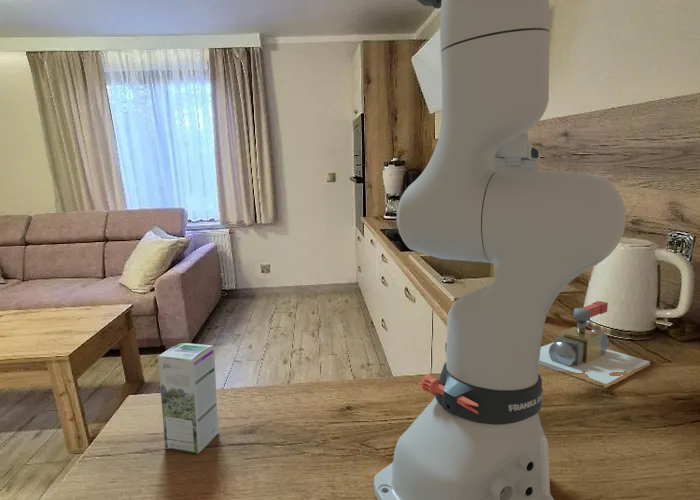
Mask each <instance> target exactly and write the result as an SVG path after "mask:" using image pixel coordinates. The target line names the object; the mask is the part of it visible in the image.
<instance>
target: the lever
mask: <svg viewBox="0 0 700 500" xmlns="http://www.w3.org/2000/svg"><path fill="white" fill-rule="evenodd" d="M608 305H609V304H608V302H607V301H601V300H600V301H599V300H598V301H597V300H596V301H595V302H592V303H591V304H588V305H586V306H583V307H575V308H573V316H572V317H573V318H572V319H574V320H576V321H577V320H580V321H586V322H588V321H591V318H592V317H595V316H598V315H603V314H605V313H607V312H608Z"/></svg>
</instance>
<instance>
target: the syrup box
mask: <svg viewBox="0 0 700 500" xmlns="http://www.w3.org/2000/svg"><path fill="white" fill-rule="evenodd" d="M215 357H216V356H215V347H214V345H213V344H212V345H211V344H200V343H187V342H181V343H178V344H176V345H174V346H171V347H170V348H168V349H167V350H165V351H164V352H162V353H161V354H159V355H157V361H158V362H157V363H158V372H159V385H160V386H159V387H160V388H159V389H160V399H161V410H162V423H163V435H164V436H163V439H164V448H165V450H166V449H167V450H170V451H171V450H172V451H178V452H183V453H184V452H186V453H190V454H197V455H198V454H199V453H201V452H202V451H203V450H204V449H205V448H206V447H207V446H208V445H209V444H210V443H211V442H212V441H213V440H214V438H216V437H217V435H218V434H219V433H220V432H219V431H220V429H219V419H218V418H219V416H218V400H217V382H216V381H217V380H216V379H217V378H216V359H215Z"/></svg>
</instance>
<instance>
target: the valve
mask: <svg viewBox="0 0 700 500" xmlns="http://www.w3.org/2000/svg"><path fill="white" fill-rule="evenodd" d="M586 322H587V321H580V320H576V326H573V327H570V328H567V329H563V330H561V331H559V336H556V337H554V339H553V340H554V341H553V343H554V344H552V345H551V346H550V348H549V356H550V358H551V360H552V361H553V362H556V363H559V364H562V365H565V366H570V365H576V366H578V365H581V364H582V362H583V363H589V362H591V361H593V360H596V359H598V358H600V356H602V355H604V354H605V351H606V350H607V349H608V350H609V346H610V339H609V337H608V335H607V334H606V333H605V332H603V331H602V330H599V329H591V330H589V329H586V324H587V323H586Z"/></svg>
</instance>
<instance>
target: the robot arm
mask: <svg viewBox="0 0 700 500" xmlns="http://www.w3.org/2000/svg"><path fill="white" fill-rule="evenodd" d="M416 1H417V2H418V3H420V4H421V5H422V6H427V7H433V8H434V9H436V10H437V9H438V10H440V27H439V28H440V30H439V31H440V34H439V35H440V36H439V37H440V38H439V39H440V58H441V59H440V61H441V63H440V64H441V89H442V90H441V92H442V93H441V101H442V102H441V120H440V121H441V123H440V129H439V134H438V139H437V141H436V145H435V148H434V150H433V153H432V155H431V157H430V159H429V162H428V163H427V165H426V167H425V168H424V169H423V170H422V172H421V174H420V175H419V176H418V177H417V178H416V179H415V180H413V182H412V183H411V184H410V185H408V186H407V187H406V188H405V190H404V191H403V194H402V195H401V196H400V199H399V201H398V204H397V205H398V206H397V208H396V226H397V227H396V228H397V230H398V234H399V236H400V237H401V239H402V242H403V243H404V244H405V246H406V247H407V248H408V249H409V250H412V251H414V252H417V253H420V254H424V255H426V256H431V257H433V258H436V259H441V260H450V261H451V260H453V261H463V262H476V263H477V262H478V263H489V264H492V265H495V267H496V270H495V271H496V272H495V277H494V281H493V283H492V284H490V285H487V286H484V287H481V288H478V289H475V290H473V291H471V292H469V293H465V294H464V295H462V296H460V297H459V298H458V299H456V301H455V302H453V304H452V305H451V307H450V309H449V310H448V313H447V316H446V317H447V318H446V320H447V321H446V358H445V360H446V361H445V362H444V364H443V365H442V370H441V373H440V375H439V378H438V379H435V378H434V376H432V375H431V374H425V375H424V376H423V377H422V378H421V380H420V384H419V385H420V389H421V390H423V391H424V392H426V393H430V395H432V396H435V397H434V398H433V399H432V400H431V402H430V403H429V404H428V405H427V406H426V407H425V408H424V409H423V410H422V412H421V413H420V414H419V415H418V416H417V418H416V419H415V420H414V421H413V422H412V423H411V424H410V425H409V427H408V428H407V429H406V430H405V431H404V432H403V434H401V436H400V437H399V438H398V439H397V441H396V444H395V445H396V446H395V448H394V453H393V460H392V462H391V463H390V464H388V465H387V466H386V467H384V468H383V469H381V470H380V471H379V472H377V473H376V474H375V476H374V477H373V492H374V495H375V497H376V499H377V500H555V499H554V497H553V496H552V494H551V488H550V487H551V485H550V464H549V463H550V461H549V460H550V459H549V457H550V456H549V443H548V440H547V436H546V434H545V432H544V428H543V426H542V423H541V419H540V416H539V412H540V411H541V408H542V400H543V395H544V391H543V390H544V389H543V379H542V376H541V375H540V372H539V371H540V370H539V369H540V365H539V359H540V349H541V347H542V341H543V335H544V334H543V333H544V328H545V323H546V319H547V317H548V314H549V311H550V310H551V307H552V305H553V304H554V301H555V300H556V298H558V296H559V295H560V293H561V292H562V291H563V289H565V288H566V287H567V285H568V284H570V283H571V282H572V281H573V280H575V279H576V278H577V277H578V276H579V275H581V274H582V273H584V272H585V271H587V270H589V269H591V268H593V267H595V266H597V265H598V264H600V263H602V262H603V261H604V260H606V259H607V258H608V257H609V256H610V255H611V254H612V253H613V251H615V249H616V248H617V247H618V245H619V244H620V242H621V239H622V237H623V235H624V231H625V228H626V221H627V219H626V217H627V214H626V207H625V203H624V200H623V198H622V196H621V194H620V193H619V191H618V189H617V187H615V185H614V184H613V183H612V182H611V181H610V180H609V179H607V178H606V177H605V176H603V175H599V174H592V173H584V172H577V171H570V170H561V169H554V170H553V169H549V170H540V166H539V162H538V160H540V159H541V151H540V150H539V149H537V147H535V146H533V145H532V144H531V142H529V134H528V131H529V130H530V129H532V128H533V127H534V126H535V125H536V124H538V122H540V120H541V119H542V118H543V116H544V114H545V112H546V110H547V108H548V105H549V101H550V99H549V95H550V91H549V89H550V43H551V42H550V40H551V39H550V29H551V28H550V25H551V24H550V23H551V22H550V21H551V20H550V18H551V17H550V0H416Z"/></svg>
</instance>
